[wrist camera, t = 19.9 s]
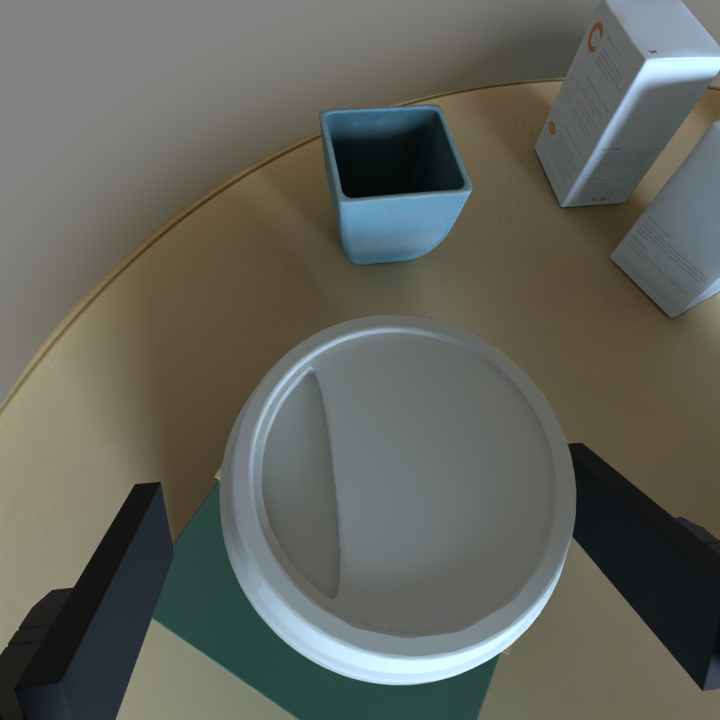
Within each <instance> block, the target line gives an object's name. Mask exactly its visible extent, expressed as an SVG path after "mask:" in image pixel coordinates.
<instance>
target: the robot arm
mask: <svg viewBox="0 0 720 720" xmlns="http://www.w3.org/2000/svg"><path fill="white" fill-rule="evenodd" d="M568 447H569V451H570V454H571V458H572V463H573V468H574V473H575V484H576V515H575V522H574V528H573V534H572V536H573V538H574V539H575V540H576V541H577V542H578V544H579V545H580V546H581V547H582V548H583V549H584V551H585V552H586V553H587V554H588V555H589V557H590V558H591V559H592V560H593V561H594V563H595V564H596V565H597V566H598V567H599V568H600V570H601V571H602V572H603V573H604V574H605V576H606V577H607V578H608V579H609V580H610V582H611V583H612V584H613V585H614V586H615V587H616V589H617V590H618V591H619V592H620V593H621V595H622V596H623V597H624V598H625V599H626V601H627V602H628V603H629V604H630V605H631V606H632V608H633V609H634V610H635V611H636V612H637V614H638V615H639V616H640V617H641V618H642V620H643V621H644V622H645V623H646V624H647V625H648V627H649V628H650V629H651V630H652V631H653V633H654V634H655V635H656V636H657V637H658V639H659V640H660V641H661V642H662V643H663V644H664V646H665V647H666V648H667V649H668V650H669V652H670V653H671V654H672V655H673V656H674V658H675V659H676V660H677V661H678V662H679V663H680V665H681V666H682V667H683V668H684V669H685V671H686V672H687V673H688V674H689V675H690V677H691V678H692V679H693V680H694V681H695V682H696V684H697V685H698V686H699V687H700V688H701V690H702V691H706V690H712V689H718V688H720V541H719V540H718V539H717V538H716V537H714V536H713V535H712V534H710V533H709V532H708V531H707V530H705V529H704V528H703V527H701V526H699V525H697V524H695V523H693V522H691V521H689V520H687V519H685V518H683V517H679V518H673V517H672V516H671V515H670V514H669V513H667V512H666V511H665V510H664V509H662V508H661V507H660V506H659V505H658V504H656V503H655V502H654V501H653V500H651V499H650V498H649V497H648V496H647V495H645V494H644V493H643V492H642V491H640V490H639V489H638V488H637V487H636V486H634V485H633V484H632V483H631V482H629V481H628V480H627V479H626V478H625V477H623V476H622V475H621V474H620V473H618V472H617V471H616V470H615V469H614V468H612V467H611V466H610V465H609V464H607V463H606V462H605V461H604V460H603V459H601V458H600V457H599V456H598V455H596V454H595V453H594V452H593V451H592V450H590V449H589V448H588V447H587V446H585V445H584V444H583V443H573V444H568ZM173 557H174V551H173V546H172V540H171V535H170V530H169V524H168V519H167V513H166V508H165V502H164V497H163V491H162V486H161V482H154V483H143V484H135V485H134V487H133V489H132V490H131V492H130V494H129V495H128V497H127V499H126V500H125V502H124V504H123V505H122V507H121V509H120V511H119V512H118V514H117V516H116V517H115V519H114V521H113V522H112V524H111V526H110V527H109V529H108V531H107V532H106V534H105V536H104V537H103V539H102V541H101V543H100V544H99V546H98V548H97V549H96V551H95V553H94V554H93V556H92V558H91V559H90V561H89V563H88V564H87V566H86V568H85V570H84V571H83V573H82V575H81V576H80V578H79V580H78V581H77V583H76V585H75V586H74V588H66V589H57V590H52V591H51V592H49V593H48V594H47V595H46V596H45V597H44V598H43V599H41V600H40V601H39V602H38V603H37V604H36V605H35V606H34V607H32V609H31V610H30V612H29V613H28V615H27V616H26V618H25V619H24V621H23V622H22V624H21V625H20V627H19V631H16V633H15V634H14V636H13V637H12V639H11V640H10V642H9V643H8V647H6V648H5V649H4V651H3V652H2V654H1V655H0V720H116V717H117V714H118V711H119V708H120V706H121V703H122V700H123V697H124V694H125V692H126V689H127V686H128V683H129V680H130V678H131V675H132V672H133V669H134V666H135V664H136V661H137V658H138V655H139V653H140V650H141V647H142V644H143V641H144V639H145V636H146V633H147V630H148V627H149V625H150V622H151V619H152V616H153V613H154V611H155V608H156V605H157V602H158V599H159V597H160V594H161V591H162V588H163V585H164V583H165V580H166V577H167V574H168V571H169V569H170V566H171V563H172V560H173Z"/></svg>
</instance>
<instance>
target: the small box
mask: <svg viewBox="0 0 720 720" xmlns="http://www.w3.org/2000/svg"><path fill="white" fill-rule="evenodd" d="M719 70H720V47H719V46H718V44H717V43H716V42H715V41H714V39H713V38H712V37H711V36H710V35H709V33H708V32H707V31H706V30H705V29H704V27H703V26H702V25H701V24H700V23H699V21H698V20H697V19H696V18H695V17H694V15H693V14H692V13H691V12H690V11H689V9H688V8H687V7H686V6H685V5H684V4H683V2H682V1H681V0H600V3H599V5H598V7H597V9H596V11H595V14H594V16H593V18H592V20H591V23H590V25H589V27H588V29H587V31H586V34H585V36H584V38H583V40H582V43H581V45H580V47H579V49H578V51H577V53H576V56H575V58H574V60H573V62H572V65H571V67H570V69H569V71H568V73H567V76H566V78H565V80H564V82H563V85H562V87H561V89H560V91H559V94H558V96H557V98H556V100H555V102H554V105H553V107H552V109H551V111H550V114H549V116H548V118H547V120H546V122H545V125H544V127H543V129H542V131H541V134H540V136H539V138H538V140H537V142H536V144H535V147H534V149H535V151H536V153H537V155H538V157H539V159H540V161H541V164H542V166H543V168H544V170H545V173H546V175H547V177H548V179H549V181H550V183H551V186H552V188H553V190H554V192H555V194H556V197H557V199H558V201H559V203H560V206H561V207H571V206H587V205H603V204H616V203H624V202H626V200H627V199H628V198H629V196H630V195H631V193H632V192H633V191H634V189H635V188H636V186H637V185H638V184H639V182H640V181H641V179H642V178H643V177H644V175H645V174H646V172H647V171H648V170H649V168H650V167H651V166H652V164H653V163H654V162H655V160H656V159H657V157H658V156H659V155H660V153H661V152H662V150H663V149H664V148H665V146H666V145H667V143H668V142H669V140H670V139H671V138H672V136H673V135H674V134H675V132H676V131H677V129H678V128H679V127H680V125H681V124H682V122H683V121H684V120H685V118H686V117H687V115H688V114H689V113H690V111H691V110H692V108H693V107H694V106H695V104H696V103H697V101H698V100H699V99H700V97H701V96H702V94H703V93H704V92H705V90H706V89H707V87H708V86H709V85H710V83H711V82H712V80H713V79H714V78H715V76H716V75H717V73H718V72H719Z"/></svg>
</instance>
